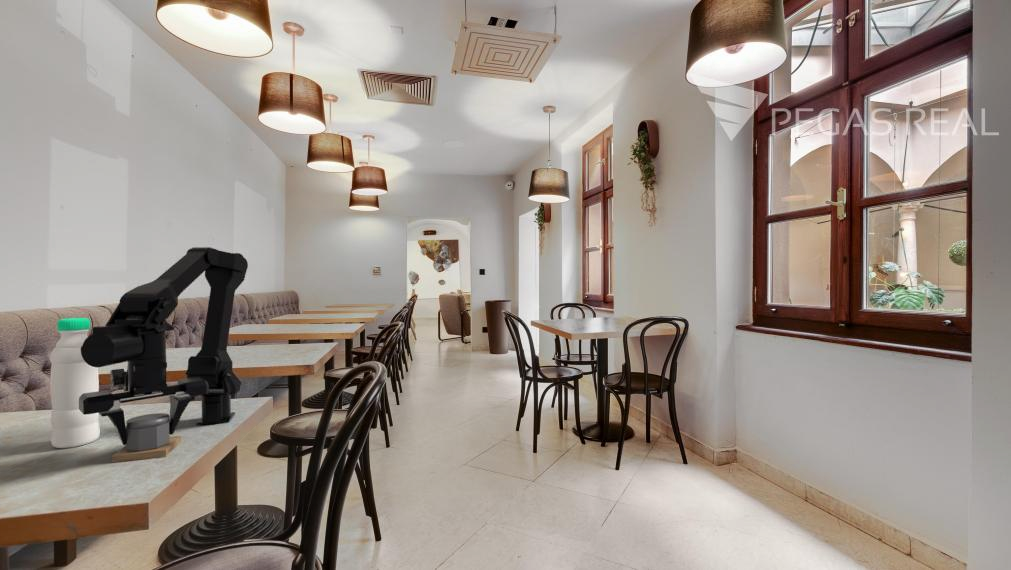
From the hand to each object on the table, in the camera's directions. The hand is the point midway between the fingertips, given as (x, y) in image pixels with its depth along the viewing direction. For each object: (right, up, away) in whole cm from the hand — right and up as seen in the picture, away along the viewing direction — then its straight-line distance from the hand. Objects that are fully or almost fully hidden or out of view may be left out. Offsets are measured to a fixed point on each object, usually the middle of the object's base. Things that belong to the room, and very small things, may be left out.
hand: (148, 439), depth 86 cm
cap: (0, -1, 0) cm, 1 cm away
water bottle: (-18, -3, +5) cm, 19 cm away
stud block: (0, -2, 0) cm, 2 cm away
